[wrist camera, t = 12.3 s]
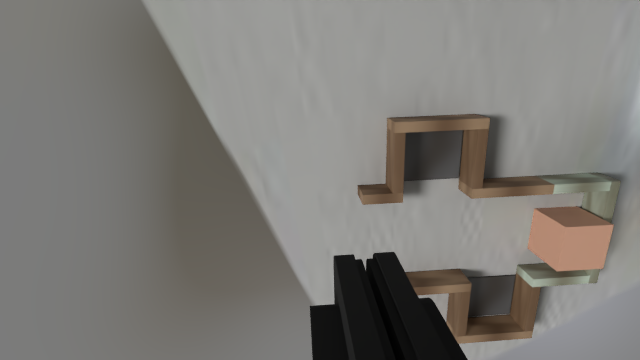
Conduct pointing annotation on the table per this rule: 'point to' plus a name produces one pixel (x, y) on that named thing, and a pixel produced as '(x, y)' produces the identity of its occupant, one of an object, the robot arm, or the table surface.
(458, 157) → the wooden zigzag frame
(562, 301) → the table surface
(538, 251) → the block
